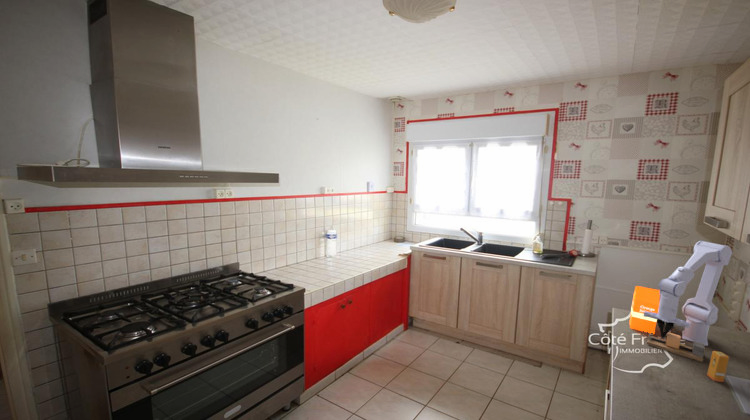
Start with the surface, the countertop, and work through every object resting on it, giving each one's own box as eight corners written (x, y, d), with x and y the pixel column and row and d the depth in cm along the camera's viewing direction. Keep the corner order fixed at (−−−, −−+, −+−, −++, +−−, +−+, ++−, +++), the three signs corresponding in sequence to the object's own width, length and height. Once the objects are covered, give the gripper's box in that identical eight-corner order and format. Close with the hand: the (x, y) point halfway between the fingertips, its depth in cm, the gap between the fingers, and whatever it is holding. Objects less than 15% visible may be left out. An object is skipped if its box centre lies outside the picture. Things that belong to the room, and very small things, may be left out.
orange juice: (629, 321, 157) (635, 283, 154) (652, 327, 152) (659, 287, 149) (630, 328, 151) (636, 288, 148) (654, 334, 146) (661, 293, 143)
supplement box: (724, 382, 114) (730, 357, 113) (713, 381, 115) (718, 355, 114) (717, 376, 118) (722, 351, 116) (706, 375, 118) (711, 350, 117)
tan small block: (666, 340, 138) (667, 332, 137) (678, 344, 135) (680, 335, 135) (665, 345, 135) (667, 336, 134) (678, 349, 132) (680, 340, 131)
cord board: (648, 337, 144) (649, 326, 143) (701, 353, 132) (704, 341, 131) (646, 344, 138) (648, 333, 137) (702, 362, 126) (704, 350, 125)
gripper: (644, 304, 137) (640, 334, 139) (692, 316, 127) (686, 348, 129) (646, 299, 142) (641, 328, 144) (692, 310, 132) (686, 341, 134)
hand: (662, 337), depth 137 cm, fingers closed
